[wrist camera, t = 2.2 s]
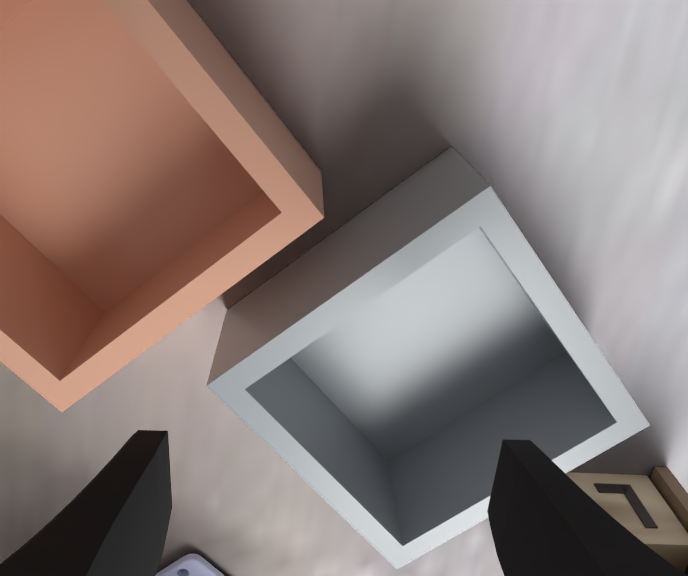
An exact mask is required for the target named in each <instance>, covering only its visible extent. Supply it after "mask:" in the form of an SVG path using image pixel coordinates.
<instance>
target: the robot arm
mask: <svg viewBox="0 0 688 576" xmlns="http://www.w3.org/2000/svg"><path fill="white" fill-rule="evenodd" d="M171 509H172V495H171V478H170V461H169V444H168V431H147V430H138V431H137V432H136V433H134V434H133V435H132V437H131V438H130V439H129V440H128V441H127V442H126V443H125V445H124V446H123V447H122V448H121V449H120V450H119V451H118V453H117V454H116V455H115V456H114V457H113V458H112V459H111V460H110V462H109V463H108V464H107V465H106V466H105V467H104V468H103V469H102V470H101V471H100V472H99V474H98V475H97V476H96V477H95V478H94V479H93V480H92V481H91V482H90V483H89V484H88V485H87V486H86V487H85V488H84V489H83V490H82V491H81V492H80V493H79V494H78V495H77V496H76V497H75V498H74V499H73V500H72V501H71V502H70V503H69V504H68V505H67V506H66V507H65V508H64V509H63V510H62V511H61V512H60V513H59V514H58V515H57V516H56V517H54V518H53V519H52V520H51V521H50V522H49V523H48V524H47V525H46V526H45V527H44V528H43V529H42V530H41V531H39V532H38V533H37V534H36V535H35V536H34V537H33V538H31V539H30V540H29V541H28V542H27V543H26V544H24V545H23V546H22V547H21V548H20V549H19V550H17V551H16V552H15V553H14V554H12V555H11V556H10V557H9V558H7V559H6V560H5V561H4V562H2V563H1V564H0V576H225V575H223V574H222V573H221V572H220V571H218V570H217V569H216V568H215V567H213V566H212V565H211V564H210V563H209V562H207V561H206V560H205V559H204V558H202V557H201V556H199V555H198V554H194V553H193V554H187V555H185V556H183V557H182V558H180V559H179V560H177V561H176V562H174V563H172V564H171V565H169V566H168V567H166V568H164V569H163V570H161V571H160V572H158V573H157V574H156V572H157V569H158V566H159V563H160V560H161V556H162V553H163V549H164V544H165V539H166V535H167V530H168V525H169V519H170V514H171ZM487 512H488V517H489V521H490V526H491V530H492V535H493V539H494V543H495V548H496V552H497V556H498V559H499V561H500V564H501V567H502V570H503V573H504V576H687V575H686V574H685V573H683V572H682V571H680V570H679V569H678V568H676V567H675V566H674V565H672V564H671V563H669V562H668V561H667V560H665V559H664V558H663V557H661V556H660V555H658V554H657V553H656V552H655V551H653V550H652V549H651V548H649V547H648V546H647V545H646V544H644V543H643V542H642V541H640V540H639V539H638V538H637V537H636V536H634V535H633V534H632V533H631V532H630V531H628V530H627V529H626V528H625V527H624V526H622V525H621V524H620V523H619V522H618V521H616V520H615V519H614V518H613V517H612V516H611V515H610V514H608V513H607V512H606V511H605V510H604V509H603V508H602V507H601V506H599V505H598V504H597V503H596V502H595V501H594V500H593V499H592V498H591V497H590V496H589V495H587V494H586V493H585V492H584V491H583V490H582V489H581V488H580V487H579V486H578V485H577V484H576V483H575V482H574V481H573V480H572V479H570V478H569V477H568V476H567V475H566V474H565V473H564V472H563V471H562V470H561V469H560V468H559V467H558V466H557V465H556V464H555V463H554V462H553V461H552V460H551V459H550V458H549V457H548V456H547V455H546V454H545V453H544V452H543V451H541V450H540V449H539V448H538V447H537V446H536V445H535V444H534V443H533V442H532V441H531V440H509V439H503V441H502V445H501V450H500V455H499V459H498V464H497V468H496V473H495V478H494V482H493V487H492V491H491V496H490V501H489V505H488V510H487ZM182 569H186V570H182Z"/></svg>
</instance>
